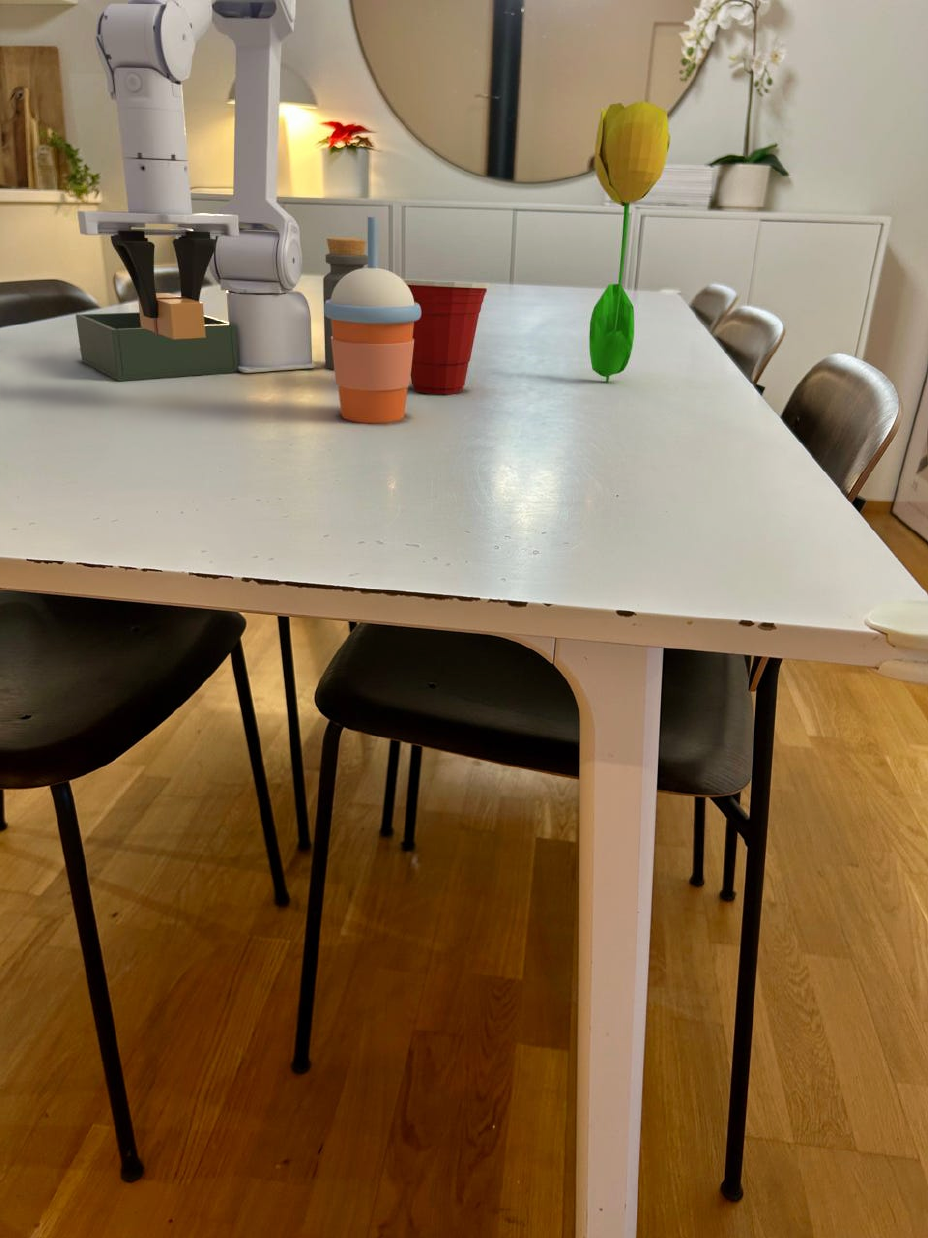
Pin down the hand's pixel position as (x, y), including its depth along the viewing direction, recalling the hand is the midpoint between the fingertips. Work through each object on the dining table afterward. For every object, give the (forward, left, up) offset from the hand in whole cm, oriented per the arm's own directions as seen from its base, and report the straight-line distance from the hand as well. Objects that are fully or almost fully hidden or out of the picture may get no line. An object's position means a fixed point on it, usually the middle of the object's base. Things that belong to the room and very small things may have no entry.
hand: (170, 316), depth 88 cm
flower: (-50, +11, -9) cm, 52 cm away
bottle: (-26, -11, -9) cm, 30 cm away
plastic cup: (-28, +6, -9) cm, 30 cm away
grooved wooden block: (0, 0, -2) cm, 2 cm away
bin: (-5, -20, -8) cm, 22 cm away
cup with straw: (-14, +15, -9) cm, 22 cm away
